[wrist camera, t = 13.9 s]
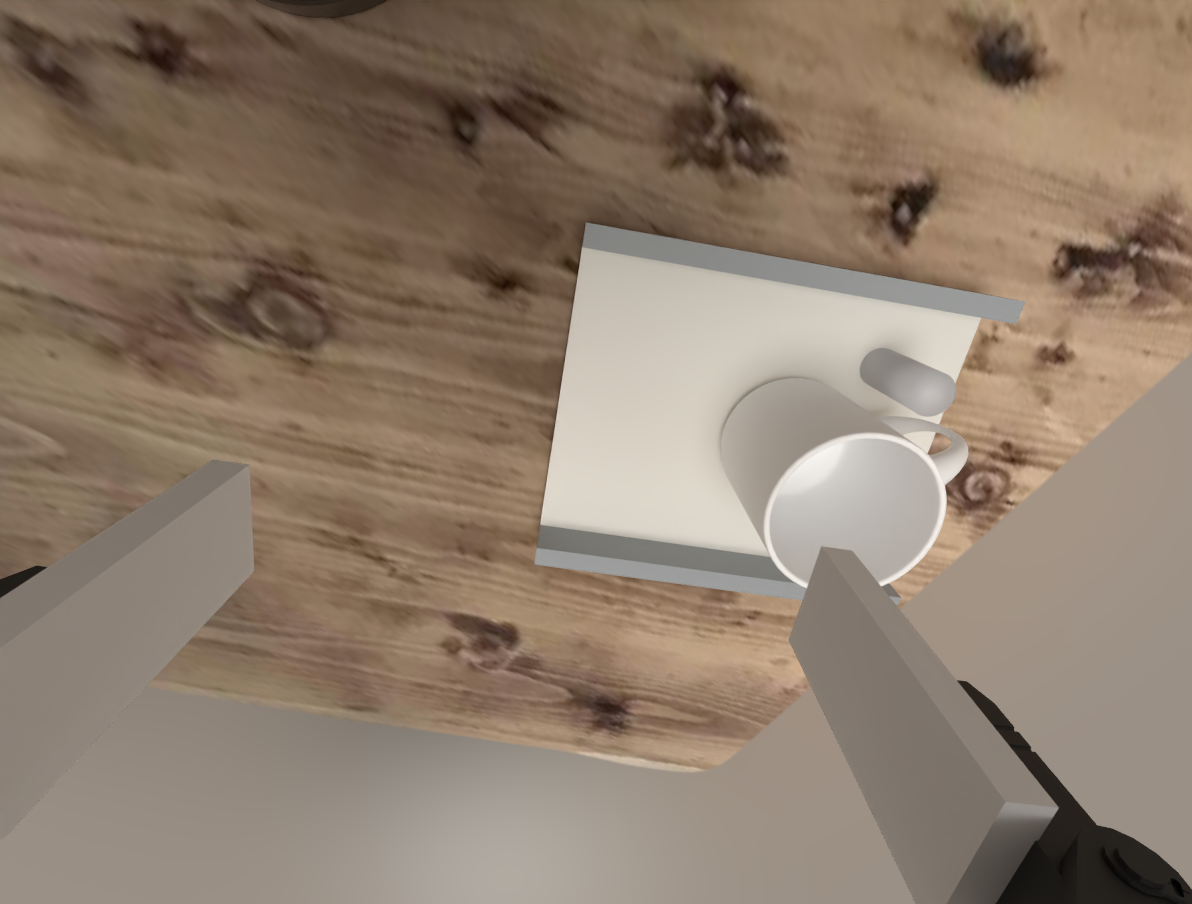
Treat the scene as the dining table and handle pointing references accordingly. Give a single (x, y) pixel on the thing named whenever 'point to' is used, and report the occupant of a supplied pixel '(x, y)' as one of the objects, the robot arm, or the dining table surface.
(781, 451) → the mug
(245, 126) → the dining table surface
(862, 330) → the channel board
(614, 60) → the dining table surface
